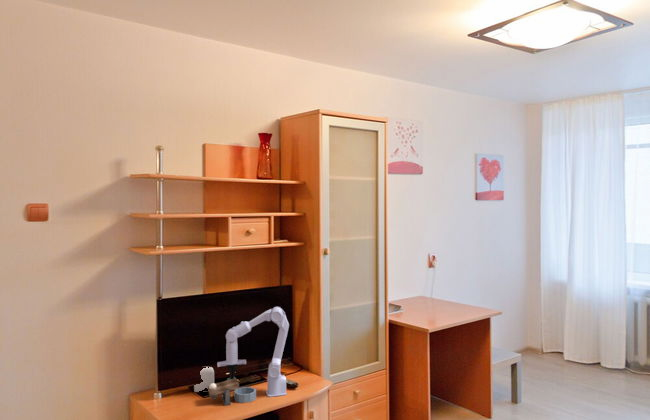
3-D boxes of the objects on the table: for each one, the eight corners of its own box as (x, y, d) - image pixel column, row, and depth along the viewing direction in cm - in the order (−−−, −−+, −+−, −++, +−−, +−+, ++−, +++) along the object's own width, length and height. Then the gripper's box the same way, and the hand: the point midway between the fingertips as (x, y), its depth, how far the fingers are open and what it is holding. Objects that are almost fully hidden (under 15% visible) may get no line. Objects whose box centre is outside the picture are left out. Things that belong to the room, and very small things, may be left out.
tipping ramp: (235, 382, 264) (234, 373, 264) (240, 392, 250) (238, 383, 250) (207, 390, 260) (206, 381, 260) (210, 400, 246) (208, 391, 245)
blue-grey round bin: (253, 393, 262) (253, 385, 262) (257, 401, 252) (257, 393, 252) (233, 396, 258) (233, 388, 258) (236, 403, 248) (236, 395, 248)
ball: (217, 385, 252) (212, 380, 252) (218, 388, 249) (213, 383, 248) (212, 390, 251) (207, 385, 251) (212, 393, 248) (207, 388, 247)
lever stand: (227, 396, 258) (227, 381, 258) (230, 405, 247) (230, 389, 247) (221, 397, 257) (221, 382, 257) (224, 405, 246) (224, 390, 246)
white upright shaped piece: (194, 393, 263) (194, 369, 263) (194, 390, 267) (194, 366, 267) (214, 391, 265) (214, 367, 265) (214, 388, 269) (214, 365, 269)
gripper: (244, 349, 266) (244, 375, 266) (216, 352, 262) (216, 378, 262) (247, 353, 260) (247, 379, 260) (218, 355, 255) (218, 382, 255)
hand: (231, 379), depth 260 cm, fingers closed
